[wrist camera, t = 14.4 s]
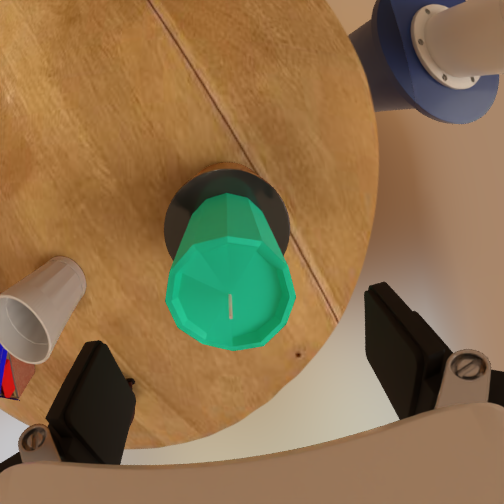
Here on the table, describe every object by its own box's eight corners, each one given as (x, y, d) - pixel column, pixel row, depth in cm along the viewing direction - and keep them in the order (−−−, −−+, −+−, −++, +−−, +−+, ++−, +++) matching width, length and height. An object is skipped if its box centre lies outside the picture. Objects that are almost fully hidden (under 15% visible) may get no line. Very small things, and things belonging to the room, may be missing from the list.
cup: (104, 285, 36) (65, 342, 25) (69, 318, 37) (31, 375, 26) (60, 236, 33) (5, 278, 22) (29, 274, 35) (-21, 321, 23)
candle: (281, 244, 25) (325, 332, 14) (216, 282, 26) (212, 389, 14) (241, 177, 23) (256, 219, 12) (172, 220, 24) (130, 297, 12)
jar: (262, 150, 32) (277, 156, 23) (279, 236, 36) (298, 275, 26) (171, 171, 32) (149, 186, 23) (194, 255, 36) (183, 300, 26)
